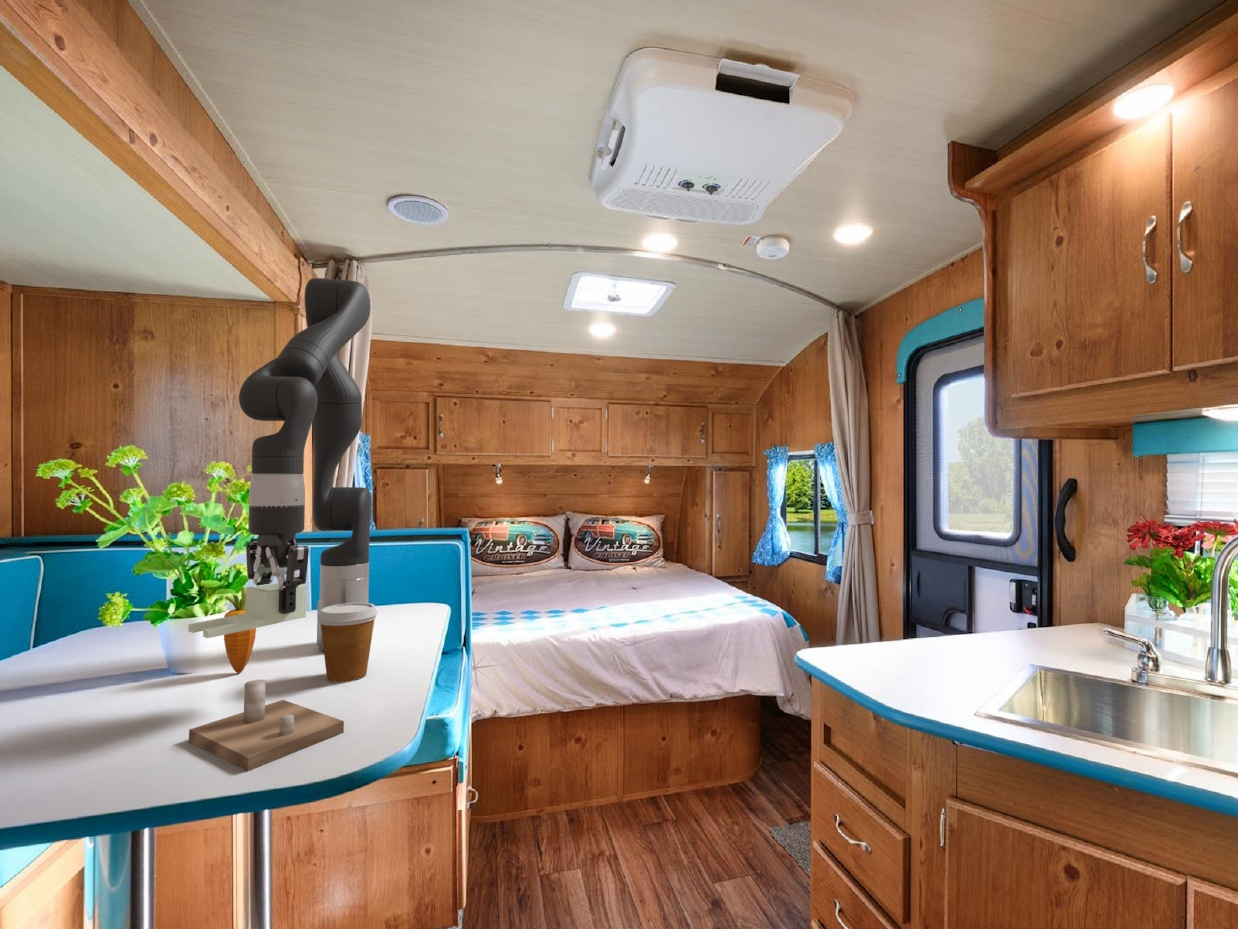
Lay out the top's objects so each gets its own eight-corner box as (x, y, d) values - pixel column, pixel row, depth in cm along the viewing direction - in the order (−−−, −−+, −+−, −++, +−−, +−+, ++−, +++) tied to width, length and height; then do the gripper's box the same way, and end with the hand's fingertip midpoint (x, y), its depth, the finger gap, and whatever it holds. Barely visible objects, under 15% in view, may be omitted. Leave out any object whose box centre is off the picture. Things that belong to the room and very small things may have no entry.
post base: (188, 741, 73) (190, 690, 74) (282, 709, 84) (283, 665, 84) (248, 770, 66) (249, 714, 66) (343, 732, 76) (344, 683, 76)
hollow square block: (285, 611, 92) (285, 581, 92) (305, 617, 89) (306, 585, 89) (188, 631, 80) (189, 596, 80) (207, 638, 77) (208, 602, 77)
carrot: (235, 679, 97) (237, 592, 97) (215, 676, 98) (217, 590, 99) (262, 670, 102) (264, 587, 102) (242, 667, 103) (244, 585, 104)
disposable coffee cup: (304, 680, 97) (305, 610, 97) (353, 664, 105) (354, 600, 105) (340, 689, 92) (341, 616, 93) (388, 672, 101) (389, 605, 101)
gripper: (327, 503, 88) (325, 611, 87) (277, 501, 95) (275, 600, 95) (277, 505, 81) (275, 621, 81) (228, 502, 88) (225, 609, 88)
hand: (275, 609), depth 88 cm, fingers closed on hollow square block, 6 cm apart
